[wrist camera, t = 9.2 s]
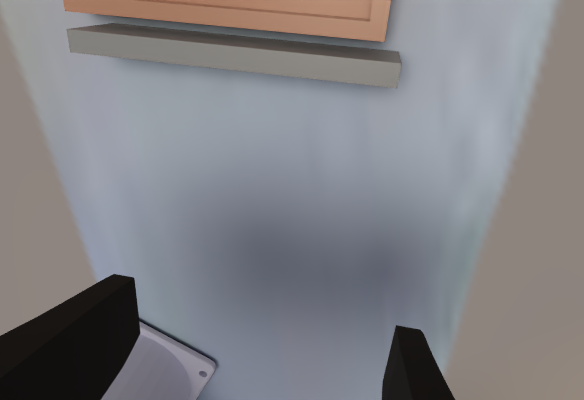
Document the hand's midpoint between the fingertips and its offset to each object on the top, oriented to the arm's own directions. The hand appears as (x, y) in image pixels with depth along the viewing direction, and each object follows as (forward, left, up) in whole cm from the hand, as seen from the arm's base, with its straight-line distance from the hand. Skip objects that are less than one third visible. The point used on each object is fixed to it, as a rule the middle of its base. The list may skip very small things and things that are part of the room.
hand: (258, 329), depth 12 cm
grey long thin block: (+4, +5, -9) cm, 12 cm away
